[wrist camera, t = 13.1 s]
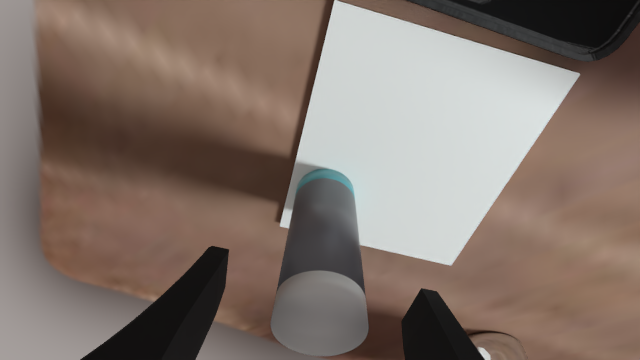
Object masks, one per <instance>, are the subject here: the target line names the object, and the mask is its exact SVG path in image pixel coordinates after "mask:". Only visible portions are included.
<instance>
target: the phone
mask: <svg viewBox="0 0 640 360" xmlns="http://www.w3.org/2000/svg"><path fill="white" fill-rule="evenodd" d="M407 1H410V2H413V3H416V4H418V5H421V6H424V7H427V8H430V9H433V10H435V11H438V12H441V13H444V14H447V15H449V16H452V17H455V18H458V19H461V20H464V21H466V22H469V23H472V24H475V25H478V26H480V27H483V28H486V29H489V30H492V31H495V32H497V33H500V34H503V35H506V36H509V37H512V38H514V39H517V40H520V41H523V42H526V43H528V44H531V45H534V46H537V47H540V48H543V49H545V50H548V51H551V52H554V53H557V54H560V55H562V56H565V57H568V58H572V59H576V60H580V61H587V62H589V61H595V60H599V59H602V58H604V57H606V56H608V55H610V54H611V53H612V52H614V51H615V50H617V49H618V48H619V47H620V46H621V45H622V44H623V42H624V41H625V40H626V39H627V38H628V36H629V35H630V34H631V32H632V31H633V30H634V28H635V27H636V26H637V24H638V23H639V22H640V0H407Z"/></svg>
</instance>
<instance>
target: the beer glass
mask: <svg viewBox="0 0 640 360" xmlns="http://www.w3.org/2000/svg"><path fill="white" fill-rule="evenodd" d="M468 337H469V338H470V340H471V341H472V342H473V344H474V345H475V347H476V348H477V349H478V351H479V352H480V353H481V355H482V356H483V358H484V359H485V360H528V357H527V354H526V352H525V349H524V347H523V346H522V344H521V343H520V342H519V341H518V340H517V339H515V338H513V337H511V336H509V335H506V334H502V333H493V332H486V333H477V334H472V335H469V336H468Z"/></svg>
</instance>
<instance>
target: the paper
mask: <svg viewBox="0 0 640 360" xmlns="http://www.w3.org/2000/svg"><path fill="white" fill-rule="evenodd" d="M579 76H580V73H576V72H573V71H570V70H566V69H563V68H560V67H556V66H553V65H550V64H546V63H543V62H540V61H536V60H533V59H530V58H526V57H523V56H520V55H516V54H513V53H510V52H506V51H503V50H500V49H496V48H493V47H490V46H486V45H483V44H480V43H476V42H473V41H470V40H466V39H463V38H460V37H456V36H453V35H450V34H447V33H443V32H440V31H437V30H433V29H430V28H427V27H423V26H420V25H417V24H413V23H410V22H407V21H403V20H400V19H397V18H393V17H390V16H387V15H383V14H380V13H377V12H373V11H370V10H367V9H363V8H360V7H357V6H353V5H350V4H347V3H343V2H340V1H337V0H334V4H333V8H332V12H331V17H330V21H329V25H328V29H327V33H326V37H325V41H324V45H323V50H322V54H321V58H320V62H319V66H318V70H317V74H316V78H315V83H314V87H313V91H312V95H311V99H310V103H309V107H308V111H307V115H306V120H305V124H304V128H303V132H302V136H301V140H300V144H299V148H298V153H297V157H296V161H295V165H294V169H293V173H292V177H291V181H290V186H289V190H288V194H287V198H286V202H285V206H284V210H283V214H282V219H281V223H280V227H285V228H289V225H290V220H291V215H292V210H293V205H294V200H295V195H296V189H297V186H298V183H299V181H300V180H301V179H302V178H303V177H304V176H305V175H306V174H308V173H309V172H311V171H314V170H317V169H332V170H336V171H338V172H340V173H342V174H344V175H345V176H346V177H347V178H348V179H349V180H350V182H351V183H352V185H353V188H354V195H355V205H356V214H357V223H358V232H359V242H360V245H363V246H368V247H372V248H376V249H381V250H385V251H389V252H394V253H398V254H403V255H407V256H411V257H416V258H420V259H424V260H429V261H433V262H437V263H442V264H446V265H452V264H453V262H454V261H455V259H456V258H457V256H458V255H459V253H460V252H461V250H462V249H463V247H464V246H465V244H466V243H467V241H468V240H469V238H470V237H471V235H472V234H473V232H474V231H475V229H476V228H477V227H478V225H479V224H480V222H481V221H482V219H483V218H484V216H485V215H486V213H487V212H488V210H489V209H490V207H491V206H492V204H493V203H494V201H495V200H496V198H497V197H498V195H499V194H500V192H501V191H502V190H503V188H504V187H505V185H506V184H507V182H508V181H509V179H510V178H511V176H512V175H513V173H514V172H515V170H516V169H517V167H518V166H519V164H520V163H521V161H522V160H523V158H524V157H525V155H526V154H527V153H528V151H529V150H530V148H531V147H532V145H533V144H534V142H535V141H536V139H537V138H538V136H539V135H540V133H541V132H542V130H543V129H544V127H545V126H546V124H547V123H548V121H549V120H550V118H551V117H552V115H553V114H554V113H555V111H556V110H557V108H558V107H559V105H560V104H561V102H562V101H563V99H564V98H565V96H566V95H567V93H568V92H569V90H570V89H571V87H572V86H573V84H574V83H575V81H576V80H577V78H578V77H579Z"/></svg>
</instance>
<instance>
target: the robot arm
mask: <svg viewBox="0 0 640 360" xmlns="http://www.w3.org/2000/svg"><path fill="white" fill-rule="evenodd" d="M228 254H229V249H225V248H220V247H215V246H211V247H209V248H208V249H207V250H206V251H205V252H204V254H203V255H202V256H201V257H200V258H199V259H198V260H197V261H196V262H195V263H194V264H193V266H192V267H191V268H190V269H189V270H188V271H187V272H186V273H185V274H184V275H183V276H182V277H181V278H180V279H179V280H178V281H177V282H175V283H174V284H173V285H172V286H171V287H170V288H169V289H168V290H167V291H166V292H165V293H164V294H163V295H162V296H161V297H159V298H158V299H157V300H156V301H155V302H154V303H153V304H151V305H150V306H149V307H148V308H147V309H146V310H145V311H143V312H142V313H141V314H140V315H139V316H138V317H136V318H135V319H134V320H133V321H131V322H130V323H129V324H128V325H127V326H125V327H124V328H123V329H122V330H120V331H119V332H117V333H116V334H115V335H114V336H112V337H111V338H110V339H108V340H107V341H106V342H104V343H103V344H102V345H100V346H99V347H97V348H96V349H95V350H93V351H92V352H90V353H89V354H88V355H86V356H85V357H83V358H82V359H81V360H195V359H196V357H197V355H198V353H199V350H200V348H201V346H202V344H203V342H204V340H205V337H206V335H207V333H208V331H209V329H210V327H211V324H212V322H213V320H214V318H215V315H216V313H217V310H218V307H219V304H220V301H221V298H222V295H223V292H224V289H225V284H226V274H227V264H228ZM402 336H403V347H404V354H405V360H485V359H484V358H483V356H482V355H481V353H480V352H479V351H478V349H477V348H476V347H475V345H474V344H473V342H472V341H471V340H470V338H469V337H468V335H467V334H466V333H465V331H464V330H463V328H462V327H461V325H460V324H459V322H458V321H457V320H456V318H455V317H454V315H453V314H452V312H451V311H450V309H449V308H448V306H447V305H446V304H445V302H444V301H443V299H442V298H441V296H440V295H439V294H438V292H437V291H432V290H427V289H422V288H421V290H420V291H419V293H418V295H417V296H416V298H415V300H414V301H413V303H412V305H411V306H410V308H409V310H408V311H407V313H406V315H405V317H404V318H403V320H402Z"/></svg>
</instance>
